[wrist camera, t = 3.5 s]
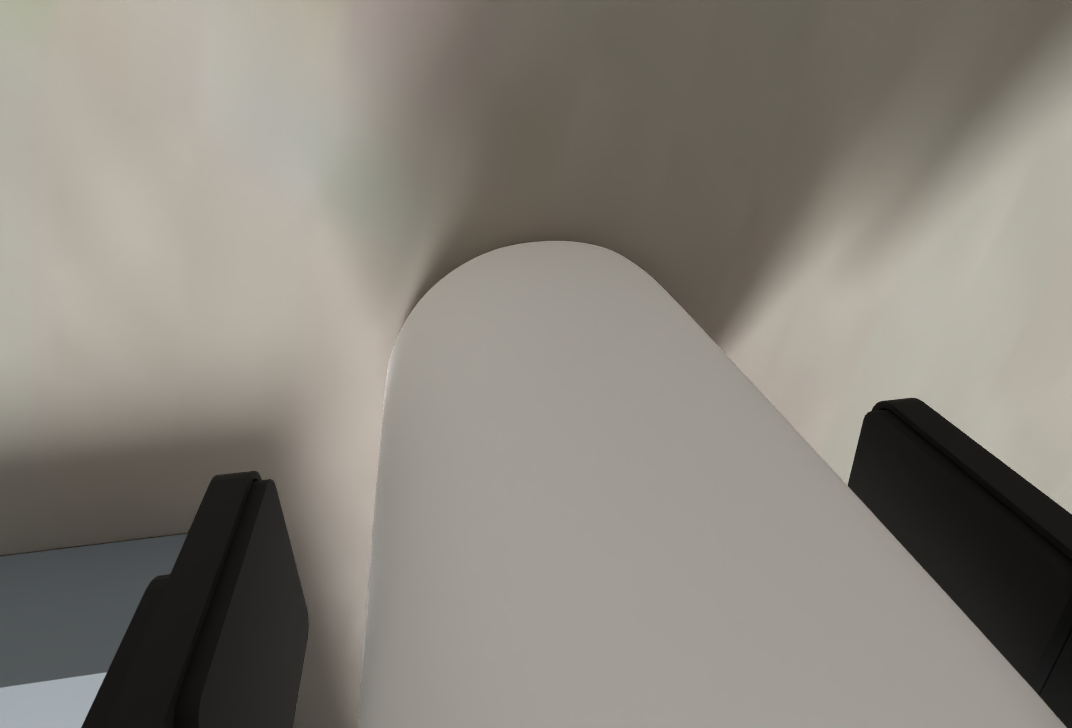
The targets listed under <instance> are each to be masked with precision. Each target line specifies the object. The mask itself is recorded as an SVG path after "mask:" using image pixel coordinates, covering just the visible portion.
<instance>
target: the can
mask: <svg viewBox="0 0 1072 728" xmlns="http://www.w3.org/2000/svg"><path fill="white" fill-rule="evenodd" d="M357 728H1067V727H1066V726H1065V725H1064V724H1063V723H1062V722H1061V720H1060V719H1059V718H1058V717H1057V716H1056V715H1055V714H1054V712H1053V711H1052V710H1051V709H1050V708H1049V707H1048V706H1047V704H1046V703H1045V702H1044V701H1043V700H1042V699H1041V698H1040V696H1039V695H1038V694H1037V693H1036V692H1035V691H1034V690H1033V688H1032V687H1031V686H1030V685H1029V684H1028V683H1027V682H1026V681H1025V680H1024V679H1023V677H1022V676H1021V675H1020V674H1019V673H1018V672H1017V671H1016V670H1015V669H1014V667H1013V666H1012V665H1011V664H1010V663H1009V662H1008V661H1007V660H1006V659H1005V658H1004V656H1003V655H1002V654H1001V653H1000V652H999V651H998V650H997V649H996V648H995V647H994V645H993V644H992V643H991V642H990V641H989V640H988V639H987V638H986V637H985V636H984V634H983V633H982V632H981V631H980V630H979V629H978V628H977V627H976V626H975V624H974V623H973V622H972V621H971V620H970V619H969V618H968V617H967V616H966V615H965V613H964V612H963V611H962V610H961V609H960V608H959V607H958V606H957V605H956V604H955V602H954V601H953V600H952V599H951V598H950V597H949V596H948V595H947V594H946V593H945V591H944V590H943V589H942V588H941V587H940V586H939V585H938V584H937V583H936V582H935V581H934V579H933V578H932V577H931V576H930V575H929V574H928V573H927V572H926V571H925V570H924V569H923V567H922V566H921V565H920V564H919V563H918V562H917V561H916V560H915V559H914V558H913V557H912V555H911V554H910V553H909V552H908V551H907V550H906V549H905V548H904V547H903V546H902V545H901V543H900V542H899V541H898V540H897V539H896V538H895V537H894V536H893V535H892V534H891V533H890V531H889V530H888V529H887V528H886V527H885V526H884V525H883V524H882V523H881V522H880V521H879V519H878V518H877V517H876V516H875V515H874V514H873V513H872V512H871V511H870V510H869V509H868V508H867V506H866V505H865V504H864V503H863V502H862V501H861V500H860V499H859V498H858V497H857V496H856V494H855V493H854V492H853V491H852V490H851V489H850V488H849V487H848V486H847V485H846V484H845V482H844V481H843V480H842V479H841V478H840V477H839V476H838V475H837V474H836V473H835V472H834V471H833V469H832V468H831V467H830V466H829V465H828V464H827V463H826V462H825V461H824V460H823V459H822V458H821V456H820V455H819V454H818V453H817V452H816V451H815V450H814V449H813V448H812V447H811V446H810V445H809V443H808V442H807V441H806V440H805V439H804V438H803V437H802V436H801V435H800V434H799V433H798V432H797V430H796V429H795V428H794V427H793V426H792V425H791V424H790V423H789V422H788V421H787V420H786V419H785V417H784V416H783V415H782V414H781V413H780V412H779V411H778V410H777V409H776V408H775V407H774V406H773V404H772V403H771V402H770V401H769V400H768V399H767V398H766V397H765V396H764V395H763V394H762V393H761V391H760V390H759V389H758V388H757V387H756V386H755V385H754V384H753V383H752V382H751V381H750V380H749V379H748V377H747V376H746V375H745V374H744V373H743V372H742V371H741V370H740V369H739V368H738V367H737V366H736V365H735V363H734V362H733V361H732V360H731V359H730V358H729V357H728V356H727V355H726V354H725V353H724V352H723V351H722V349H721V348H720V347H719V346H718V345H717V344H716V343H715V342H714V341H713V340H712V339H711V338H710V337H709V336H708V334H707V333H706V332H705V331H704V330H703V329H702V328H701V327H700V326H699V325H698V324H697V323H696V322H695V321H694V320H693V318H692V317H691V316H690V315H689V314H688V313H687V312H686V311H685V310H684V309H683V308H682V307H681V306H680V305H679V304H678V303H677V302H676V301H675V300H674V298H673V297H672V296H671V295H670V294H669V293H668V292H667V291H666V290H665V289H664V288H663V287H662V286H661V285H660V284H659V283H658V282H657V281H656V280H655V279H653V278H652V277H651V276H650V275H649V274H648V273H646V272H645V271H644V270H643V269H641V268H640V267H638V266H637V265H636V264H634V263H633V262H631V261H630V260H628V259H627V258H625V257H624V256H622V255H620V254H618V253H616V252H614V251H612V250H609V249H607V248H603V247H600V246H596V245H592V244H587V243H581V242H572V241H540V242H529V243H522V244H516V245H511V246H506V247H502V248H499V249H496V250H493V251H490V252H487V253H485V254H482V255H480V256H478V257H476V258H474V259H472V260H470V261H468V262H466V263H464V264H463V265H461V266H459V267H458V268H456V269H455V270H453V271H452V272H450V273H449V274H447V275H446V276H445V277H444V278H442V279H441V280H440V281H439V282H438V283H436V284H435V285H434V286H433V287H432V288H431V289H430V290H429V291H428V292H427V293H426V294H425V295H424V296H423V297H422V299H421V300H420V301H419V302H418V303H417V305H416V306H415V307H414V309H413V310H412V311H411V313H410V314H409V316H408V317H407V319H406V321H405V322H404V324H403V326H402V328H401V330H400V332H399V334H398V336H397V339H396V341H395V344H394V347H393V350H392V353H391V357H390V361H389V365H388V371H387V377H386V385H385V394H384V404H383V414H382V425H381V437H380V449H379V460H378V472H377V484H376V497H375V509H374V521H373V533H372V545H371V558H370V571H369V583H368V596H367V609H366V621H365V634H364V647H363V659H362V672H361V685H360V699H359V712H358V725H357Z"/></svg>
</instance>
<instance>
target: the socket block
mask: <svg viewBox="0 0 1072 728" xmlns="http://www.w3.org/2000/svg"><path fill="white" fill-rule="evenodd" d="M187 535H188V534H181V535H173V536H164V537H156V538H148V539H140V540H131V541H123V542H115V543H107V544H99V545H90V546H82V547H74V548H66V549H57V550H49V551H41V552H33V553H24V554H16V555H8V556H0V728H81V727H82V725H83V723H84V721H85V718H86V716H87V714H88V712H89V710H90V708H91V706H92V703H93V701H94V699H95V697H96V695H97V693H98V691H99V688H100V686H101V684H102V682H103V680H104V678H105V676H106V673H107V671H108V669H109V667H110V665H111V663H112V661H113V658H114V656H115V654H116V652H117V650H118V648H119V646H120V643H121V641H122V639H123V637H124V635H125V633H126V631H127V628H128V626H129V624H130V622H131V620H132V618H133V616H134V614H135V611H136V609H137V607H138V605H139V603H140V601H141V599H142V596H143V594H144V592H145V590H146V588H147V587H148V585H149V584H150V582H151V580H153V579H154V578H155V577H157V576H159V575H167V574H171V571H172V569H173V567H174V564H175V562H176V560H177V557H178V555H179V553H180V551H181V548H182V546H183V544H184V541H185V539H186V537H187Z"/></svg>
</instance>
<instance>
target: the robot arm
mask: <svg viewBox="0 0 1072 728" xmlns="http://www.w3.org/2000/svg"><path fill="white" fill-rule="evenodd" d="M848 487H849V488H850V489H851V490H852V491H853V492H854V493H855V494H856V496H857V497H858V498H859V499H860V500H861V501H862V502H863V503H864V504H865V505H866V506H867V508H868V509H869V510H870V511H871V512H872V513H873V514H874V515H875V516H876V517H877V518H878V519H879V521H880V522H881V523H882V524H883V525H884V526H885V527H886V528H887V529H888V530H889V531H890V533H891V534H892V535H893V536H894V537H895V538H896V539H897V540H898V541H899V542H900V543H901V545H902V546H903V547H904V548H905V549H906V550H907V551H908V552H909V553H910V554H911V555H912V557H913V558H914V559H915V560H916V561H917V562H918V563H919V564H920V565H921V566H922V567H923V569H924V570H925V571H926V572H927V573H928V574H929V575H930V576H931V577H932V578H933V579H934V581H935V582H936V583H937V584H938V585H939V586H940V587H941V588H942V589H943V590H944V591H945V593H946V594H947V595H948V596H949V597H950V598H951V599H952V600H953V601H954V602H955V604H956V605H957V606H958V607H959V608H960V609H961V610H962V611H963V612H964V613H965V615H966V616H967V617H968V618H969V619H970V620H971V621H972V622H973V623H974V624H975V626H976V627H977V628H978V629H979V630H980V631H981V632H982V633H983V634H984V636H985V637H986V638H987V639H988V640H989V641H990V642H991V643H992V644H993V645H994V647H995V648H996V649H997V650H998V651H999V652H1000V653H1001V654H1002V655H1003V656H1004V658H1005V659H1006V660H1007V661H1008V662H1009V663H1010V664H1011V665H1012V666H1013V667H1014V669H1015V670H1016V671H1017V672H1018V673H1019V674H1020V675H1021V676H1022V677H1023V679H1024V680H1025V681H1026V682H1027V683H1028V684H1029V685H1030V686H1031V687H1032V688H1033V690H1034V691H1035V692H1036V693H1037V694H1038V695H1039V696H1040V698H1041V699H1042V700H1043V701H1044V702H1045V703H1046V704H1047V706H1048V707H1049V708H1050V709H1051V710H1052V711H1053V712H1054V714H1055V715H1056V716H1057V717H1058V718H1059V719H1060V720H1061V722H1062V723H1063V724H1064V725H1065V726H1066V727H1067V728H1072V514H1070V513H1069V512H1068V511H1066V510H1065V509H1064V508H1062V507H1061V506H1060V505H1058V504H1057V503H1056V502H1054V501H1053V500H1052V499H1050V498H1049V497H1048V496H1046V495H1045V494H1044V493H1043V492H1041V491H1040V490H1039V489H1037V488H1036V487H1035V486H1033V485H1032V484H1031V483H1029V482H1028V481H1027V480H1025V479H1024V478H1023V477H1021V476H1020V475H1019V474H1017V473H1016V472H1015V471H1014V470H1012V469H1011V468H1010V467H1008V466H1007V465H1006V464H1004V463H1003V462H1002V461H1000V460H999V459H998V458H996V457H995V456H994V455H992V454H991V453H990V452H988V451H987V450H986V449H984V448H983V447H982V446H981V445H979V444H978V443H977V442H975V441H974V440H973V439H971V438H970V437H969V436H967V435H966V434H965V433H963V432H962V431H961V430H959V429H958V428H957V427H955V426H954V425H953V424H952V423H950V422H949V421H948V420H946V419H945V418H944V417H942V416H941V415H940V414H938V413H937V412H936V411H934V410H933V409H932V408H930V407H929V406H928V405H926V404H925V403H924V402H922V401H921V400H919V399H917V398H906V399H897V400H888V401H881V402H878V403H877V404H876V405H875V406H874V407H873V409H872V411H871V412H868V413H867V414H866V415H865V417H864V420H863V424H862V428H861V432H860V437H859V441H858V445H857V449H856V453H855V457H854V462H853V466H852V470H851V474H850V478H849V482H848ZM308 628H309V623H308V612H307V607H306V603H305V599H304V595H303V591H302V587H301V583H300V579H299V576H298V572H297V568H296V564H295V560H294V556H293V552H292V548H291V544H290V540H289V536H288V532H287V528H286V525H285V521H284V517H283V513H282V509H281V505H280V501H279V497H278V493H277V489H276V486H275V483H274V481H273V480H271V479H268V480H262V479H261V476H260V475H259V473H258V472H256V471H250V472H241V473H232V474H223V475H216V476H214V477H213V478H212V480H211V482H210V484H209V486H208V489H207V491H206V493H205V496H204V498H203V500H202V502H201V505H200V507H199V509H198V512H197V514H196V516H195V518H194V521H193V523H192V525H191V528H190V530H189V532H188V535H187V537H186V539H185V541H184V544H183V546H182V548H181V551H180V553H179V555H178V557H177V560H176V562H175V564H174V567H173V569H172V571H171V574H167V575H159V576H157V577H155V578H154V579H153V580H151V582H150V584H149V585H148V587H147V588H146V590H145V592H144V594H143V596H142V599H141V601H140V603H139V605H138V607H137V609H136V611H135V614H134V616H133V618H132V620H131V622H130V624H129V626H128V628H127V631H126V633H125V635H124V637H123V639H122V641H121V643H120V646H119V648H118V650H117V652H116V654H115V656H114V658H113V661H112V663H111V665H110V667H109V669H108V671H107V673H106V676H105V678H104V680H103V682H102V684H101V686H100V688H99V691H98V693H97V695H96V697H95V699H94V701H93V703H92V706H91V708H90V710H89V712H88V714H87V716H86V718H85V721H84V723H83V725H82V727H81V728H292V726H293V720H294V714H295V709H296V703H297V697H298V691H299V685H300V679H301V673H302V668H303V662H304V656H305V650H306V644H307V638H308Z"/></svg>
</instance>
